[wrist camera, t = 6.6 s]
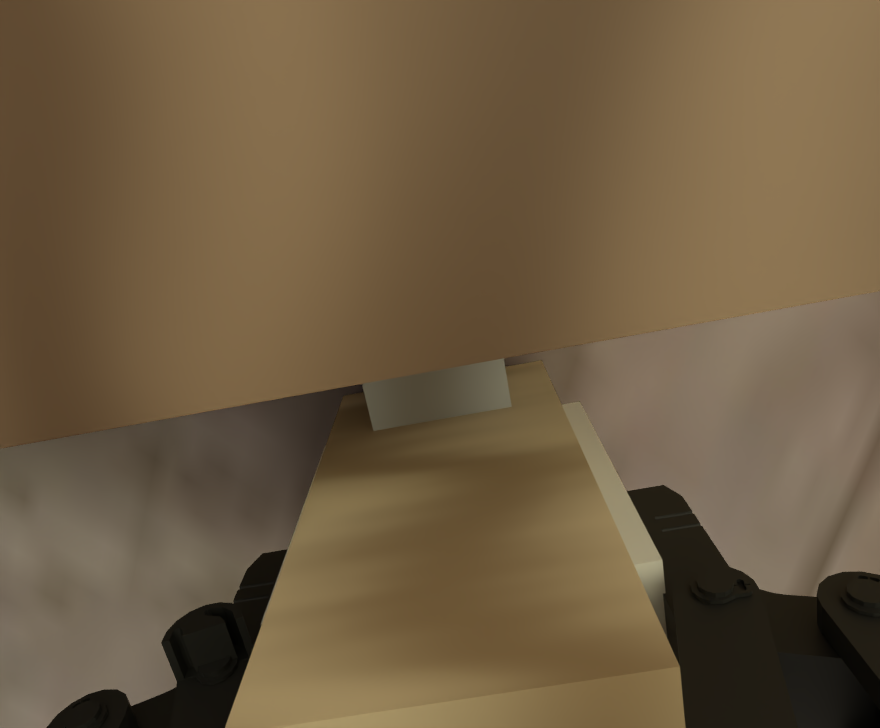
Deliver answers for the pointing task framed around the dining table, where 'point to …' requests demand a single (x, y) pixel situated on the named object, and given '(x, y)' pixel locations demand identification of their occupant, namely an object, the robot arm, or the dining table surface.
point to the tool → (458, 574)
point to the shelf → (408, 187)
